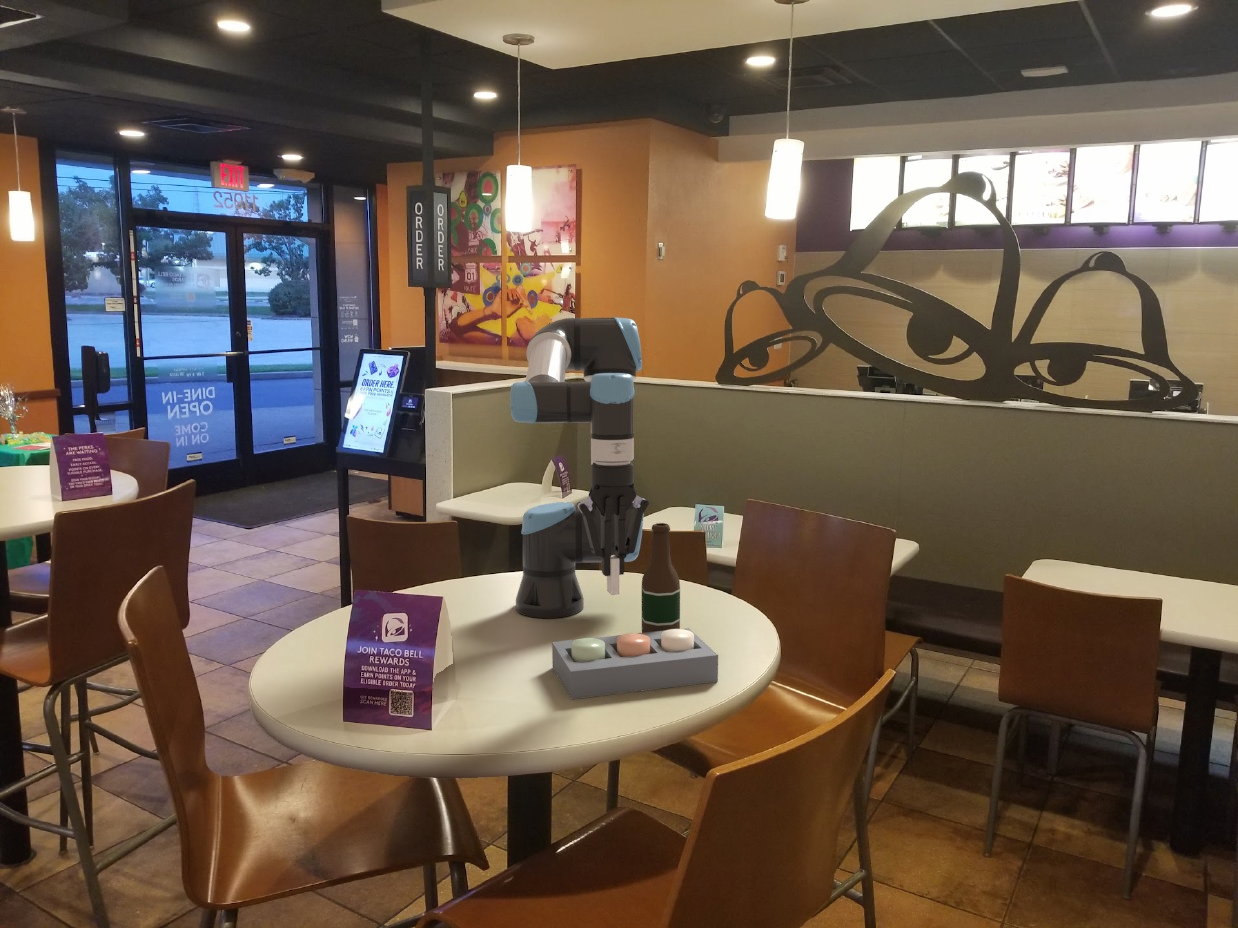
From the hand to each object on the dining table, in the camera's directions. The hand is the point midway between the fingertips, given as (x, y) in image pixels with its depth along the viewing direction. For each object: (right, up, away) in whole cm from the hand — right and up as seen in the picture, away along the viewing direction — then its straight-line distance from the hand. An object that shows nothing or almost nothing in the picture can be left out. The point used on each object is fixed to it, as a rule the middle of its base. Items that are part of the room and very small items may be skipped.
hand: (613, 592), depth 168 cm
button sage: (-4, -14, +1) cm, 14 cm away
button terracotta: (+4, -13, +4) cm, 14 cm away
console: (+4, -16, +4) cm, 17 cm away
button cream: (+12, -13, +6) cm, 18 cm away
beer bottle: (+9, -13, +22) cm, 27 cm away
